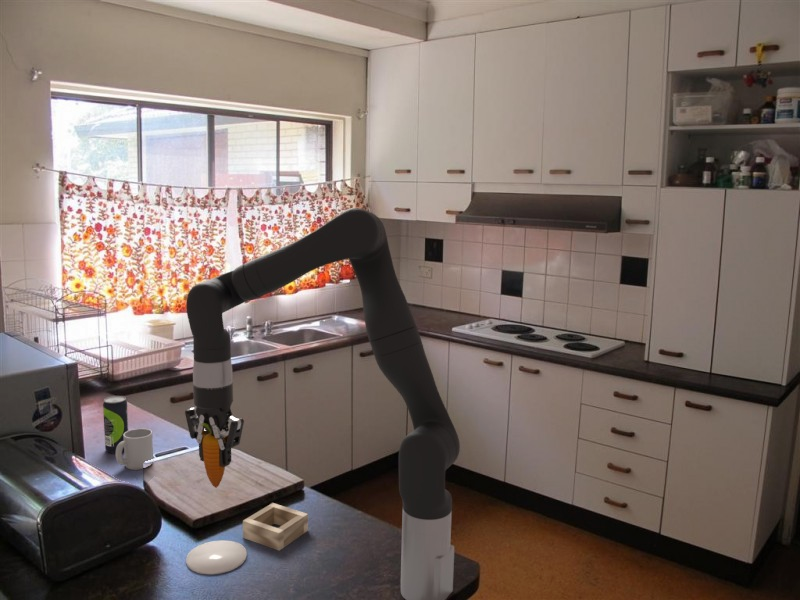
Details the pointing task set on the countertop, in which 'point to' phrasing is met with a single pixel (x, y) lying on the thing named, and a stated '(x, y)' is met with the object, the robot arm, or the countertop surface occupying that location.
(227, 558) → the domed disc
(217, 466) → the carrot
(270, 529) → the pocket frame
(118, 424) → the beverage can
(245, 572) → the countertop surface
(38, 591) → the countertop surface
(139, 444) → the cup
